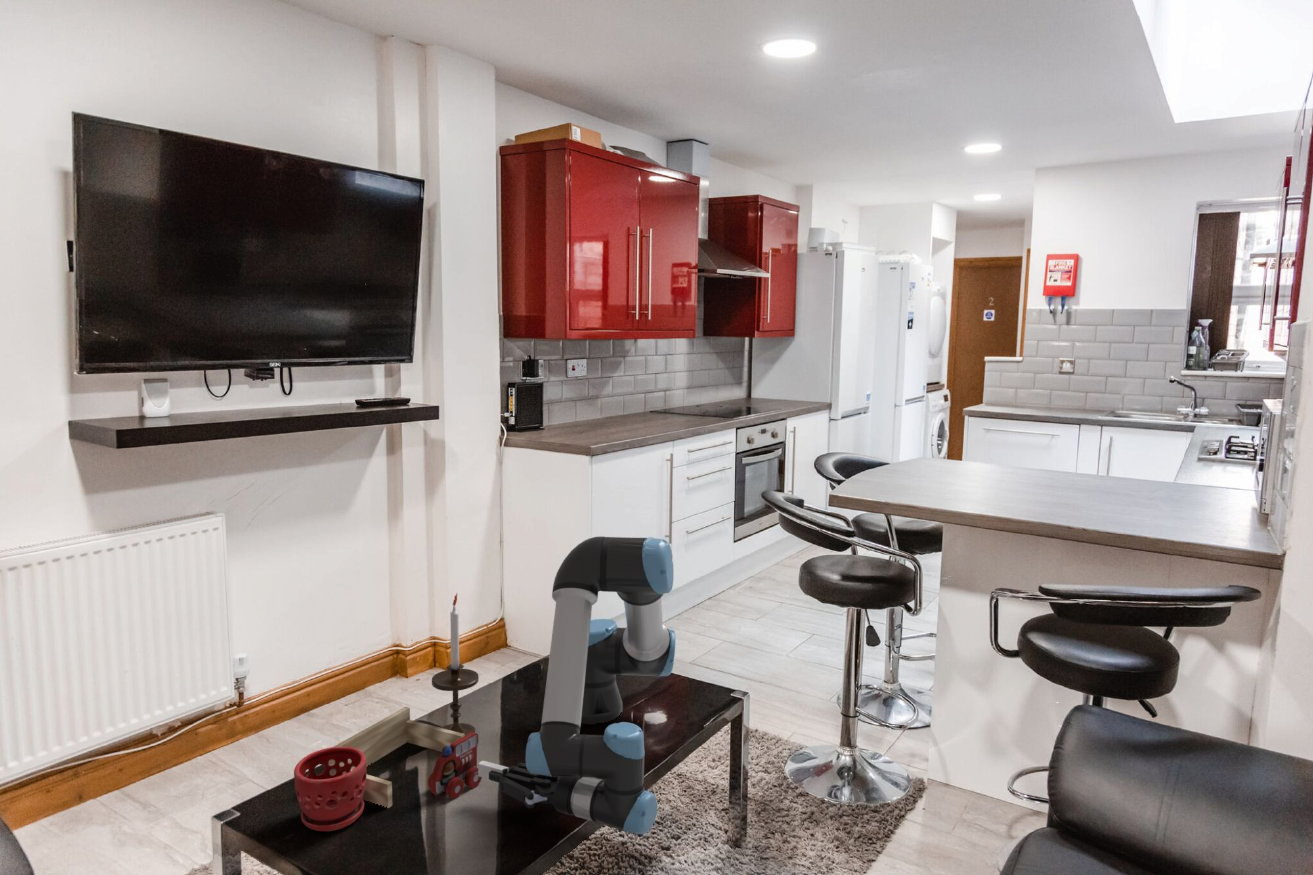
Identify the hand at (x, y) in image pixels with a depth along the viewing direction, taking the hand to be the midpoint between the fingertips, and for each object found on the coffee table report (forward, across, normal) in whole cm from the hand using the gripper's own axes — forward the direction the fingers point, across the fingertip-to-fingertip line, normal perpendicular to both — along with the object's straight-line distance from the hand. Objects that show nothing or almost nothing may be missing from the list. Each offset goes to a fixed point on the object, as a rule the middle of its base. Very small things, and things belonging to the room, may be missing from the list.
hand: (480, 768), depth 169 cm
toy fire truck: (+7, +1, -7) cm, 10 cm away
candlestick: (+22, +20, -7) cm, 30 cm away
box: (+23, +1, -6) cm, 24 cm away
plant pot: (+21, -19, -7) cm, 29 cm away
